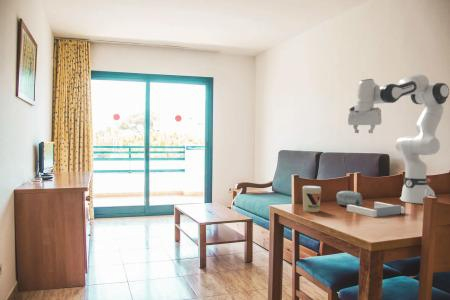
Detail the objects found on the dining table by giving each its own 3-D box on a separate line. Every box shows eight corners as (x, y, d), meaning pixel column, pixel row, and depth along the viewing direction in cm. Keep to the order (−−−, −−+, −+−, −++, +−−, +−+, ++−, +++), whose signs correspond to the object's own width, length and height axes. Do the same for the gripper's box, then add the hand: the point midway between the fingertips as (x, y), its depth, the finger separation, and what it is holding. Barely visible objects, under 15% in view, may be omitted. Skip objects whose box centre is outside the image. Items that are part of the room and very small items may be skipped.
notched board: (377, 207, 200) (377, 199, 199) (404, 213, 186) (404, 205, 185) (346, 210, 188) (346, 202, 188) (372, 217, 174) (373, 208, 174)
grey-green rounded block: (367, 200, 201) (360, 185, 199) (362, 210, 195) (355, 194, 193) (344, 203, 211) (337, 188, 209) (338, 212, 204) (331, 197, 202)
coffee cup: (306, 212, 182) (307, 188, 181) (298, 208, 191) (299, 185, 190) (323, 212, 184) (324, 188, 183) (315, 208, 193) (316, 185, 192)
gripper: (384, 107, 199) (383, 133, 199) (354, 109, 216) (353, 133, 217) (377, 106, 195) (375, 133, 196) (346, 108, 213) (345, 132, 214)
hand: (363, 133), depth 206 cm, fingers open, 8 cm apart
